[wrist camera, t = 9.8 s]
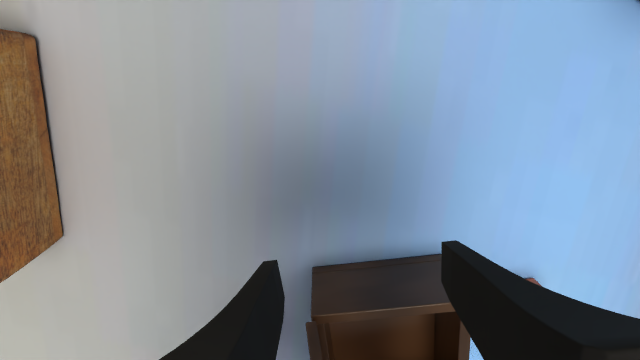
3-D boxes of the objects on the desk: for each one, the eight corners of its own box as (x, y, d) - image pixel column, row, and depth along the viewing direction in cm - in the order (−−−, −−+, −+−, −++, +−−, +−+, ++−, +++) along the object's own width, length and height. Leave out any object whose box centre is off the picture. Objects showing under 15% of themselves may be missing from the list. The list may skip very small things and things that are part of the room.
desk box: (442, 253, 25) (473, 300, 20) (439, 358, 28) (465, 419, 24) (312, 267, 25) (310, 316, 20) (327, 368, 29) (329, 430, 24)
